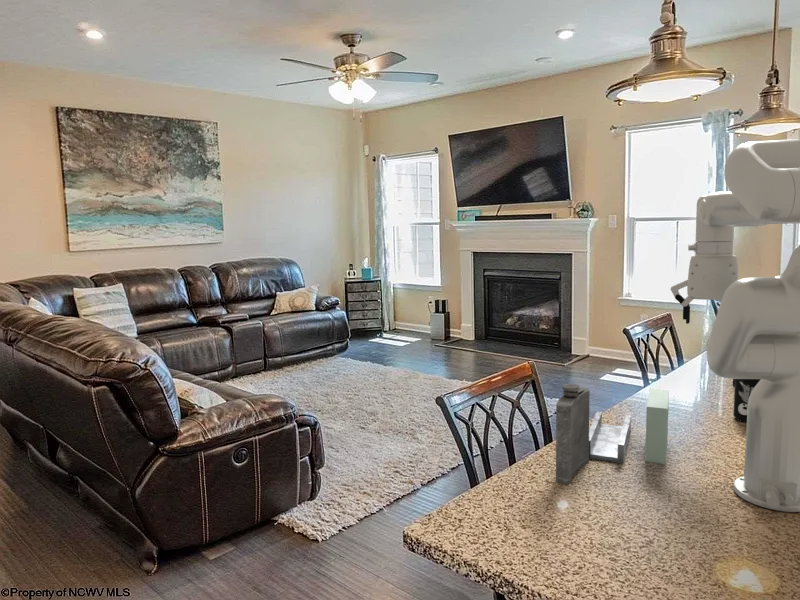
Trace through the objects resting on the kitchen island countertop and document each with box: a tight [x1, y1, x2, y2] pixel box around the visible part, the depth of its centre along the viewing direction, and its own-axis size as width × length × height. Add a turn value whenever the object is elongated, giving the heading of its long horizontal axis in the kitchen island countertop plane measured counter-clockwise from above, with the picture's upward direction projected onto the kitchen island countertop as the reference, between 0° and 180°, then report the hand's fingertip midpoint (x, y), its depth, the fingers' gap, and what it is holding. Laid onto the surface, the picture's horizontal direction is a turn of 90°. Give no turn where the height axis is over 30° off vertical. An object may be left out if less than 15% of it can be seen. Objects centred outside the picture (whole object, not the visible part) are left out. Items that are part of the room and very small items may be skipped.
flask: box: [555, 383, 591, 485], centre depth 117 cm, size 4×14×18 cm, turn 145°
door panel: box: [644, 388, 670, 465], centre depth 126 cm, size 14×4×12 cm, turn 154°
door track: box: [589, 411, 632, 464], centre depth 131 cm, size 20×8×4 cm, turn 154°
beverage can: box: [733, 379, 761, 424], centre depth 144 cm, size 7×7×12 cm
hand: (711, 323), depth 133 cm, fingers open, 9 cm apart
